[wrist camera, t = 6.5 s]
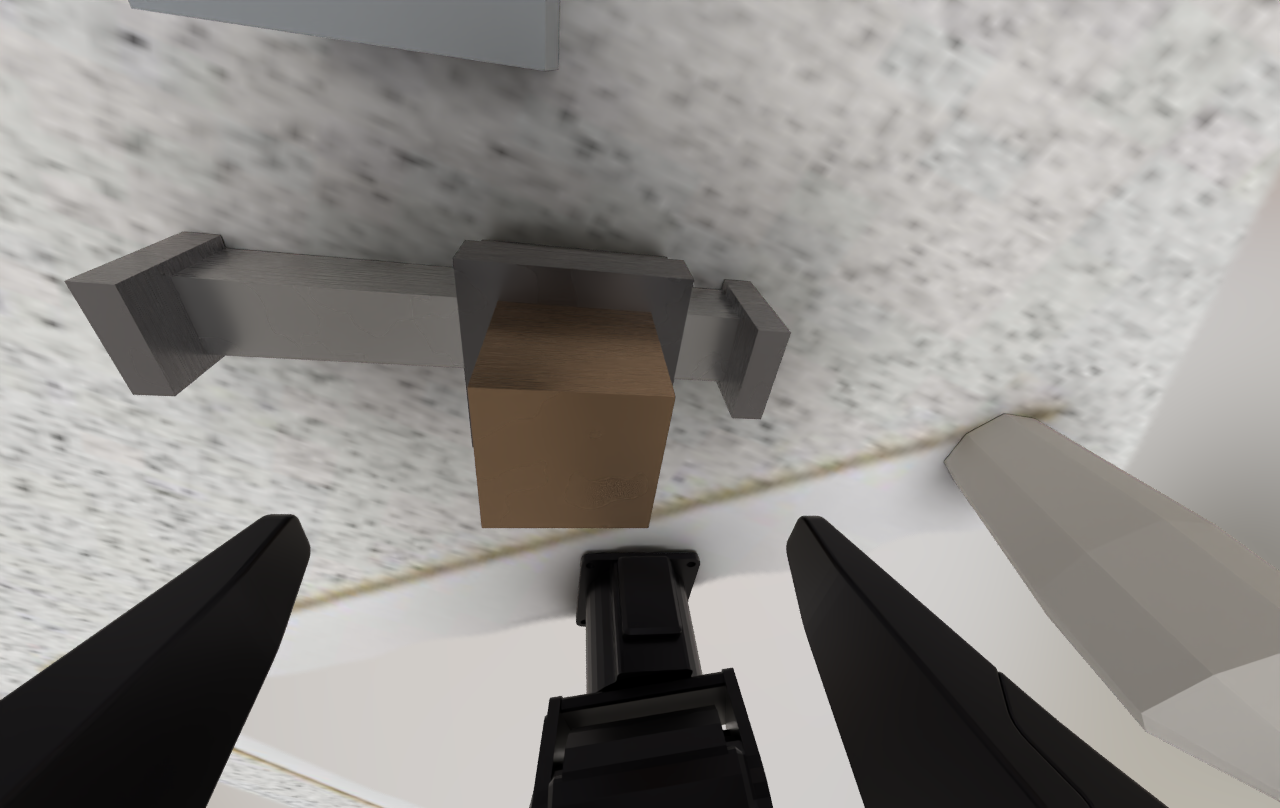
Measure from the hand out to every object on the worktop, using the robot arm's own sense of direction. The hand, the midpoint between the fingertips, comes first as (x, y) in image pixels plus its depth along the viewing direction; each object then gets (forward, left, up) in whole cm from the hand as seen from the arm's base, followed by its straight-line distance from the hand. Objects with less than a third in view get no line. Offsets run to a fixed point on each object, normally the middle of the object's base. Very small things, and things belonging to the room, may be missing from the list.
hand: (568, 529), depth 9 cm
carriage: (0, 0, -10) cm, 10 cm away
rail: (0, +3, -10) cm, 10 cm away
